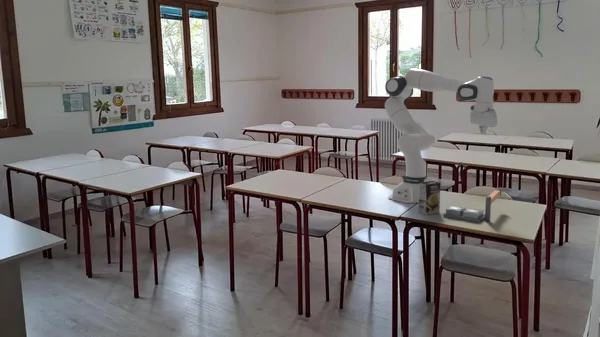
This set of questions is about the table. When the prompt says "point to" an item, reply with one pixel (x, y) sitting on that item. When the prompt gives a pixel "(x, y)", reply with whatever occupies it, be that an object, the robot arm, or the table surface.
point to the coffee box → (429, 197)
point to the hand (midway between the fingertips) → (482, 133)
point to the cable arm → (490, 200)
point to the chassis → (464, 213)
